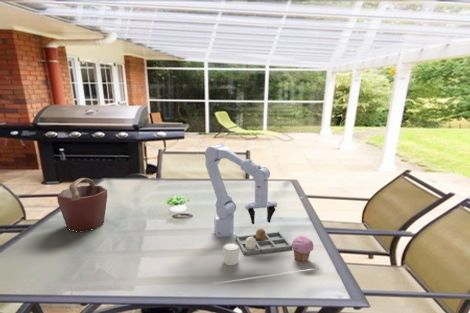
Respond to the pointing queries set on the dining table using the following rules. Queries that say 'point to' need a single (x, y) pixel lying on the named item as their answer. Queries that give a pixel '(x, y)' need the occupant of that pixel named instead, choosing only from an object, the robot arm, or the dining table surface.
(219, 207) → the robot arm
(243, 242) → the egg tray
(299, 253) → the cupcake
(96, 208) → the bucket
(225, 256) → the white textured cylinder
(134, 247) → the dining table surface
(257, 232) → the brown egg
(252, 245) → the cream egg
